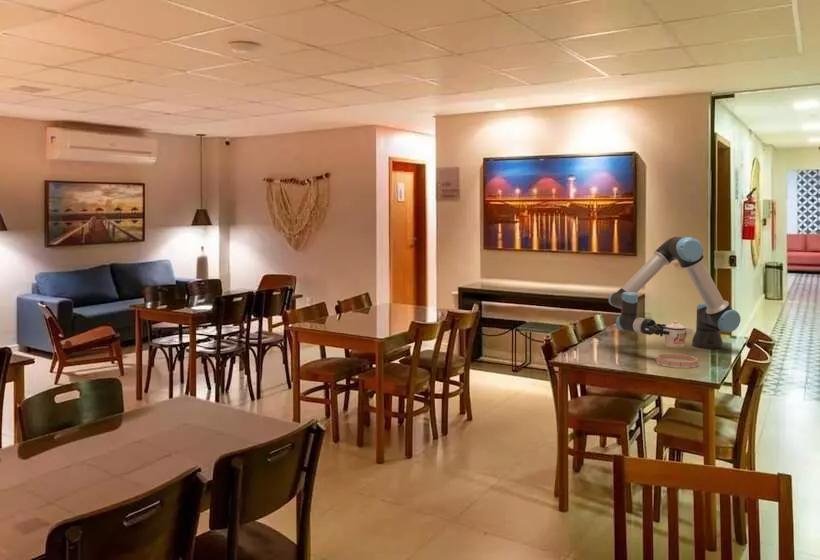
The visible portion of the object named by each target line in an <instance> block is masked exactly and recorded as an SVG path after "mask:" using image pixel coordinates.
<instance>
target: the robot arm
mask: <svg viewBox="0 0 820 560" xmlns="http://www.w3.org/2000/svg"><path fill="white" fill-rule="evenodd" d="M703 252H704V248H703V244H702V243H701V242H700V240H698V239H697V238H693V237H691V236H685V237H683V236H673V237H670V238H668V239H667V240H665V241H664V242H663V243H661V245H659V246H658V248H657V249H655V251H653V255H652V256H651V257H650V259H649V260H648V261H647V262H645V263H644V264H643V266H641V268H639V270H637V272H635V274H633V276H631V277H630V278H629V280H628V281H626V283H624V284H623V286H621V287H620V288H619V289H618V290H617V291H616V292H611V293H610V295H609V296H608V304H609V305H610V306H612V307H614V308H616V309H620V310H621V311H620V312H621V313H620V315H618V316H617V317H616V320H615V326H616V327H617V329H619V330H621V331H625V332H632V333H637V334H638V335H641V334H642V335H643V334H644V335H649V336H651V335H653V334H654V335H656V336H660V337H663V336H665V335H666V336H672V337H677V331H673V330H667V329H665V326H666V325H667V324H664V323H663V324H660V323H656V320H654V319H649V318H644V317H638V305H639V304H638V303H639V298H638V292H639V291H640V290H642V288H644V287H645V286H646V285H647V284H648V282H650V280H651V279H653V277H655V276H656V274H658V272H661V271H660V270H662V269H663V268H664V267H665V266H668V265H670V264H671V263H672V262H673V261H677V262H678V265H680V267H681V268H682V269H685V270H686V272H687V274H688V275H689V277H690V279H691V281H692V283H693V284H694V286H695V288H696V290H697V292H698V293H699V295H700V297H701V299H702V301H703V303H698V304H697V306H696V323H695V325H696V326H695V333H694V328H690V327H686V329H685V330H686V331H687V335H691V336H693V335H694V336H693V338H692V340H691V346H693V347H695V348H701V349H702V348H703V349H712V350H715V349H722V348H723V347H724V341H723V339H722V335H721V332H722V333H732V332H734V331H736V330H737V329H738V327H739V326H740V323H741V319H742V318H741V315H740V313H739V312H738V311H737V310H736V309H733V308H732V306H731V305H730V303H729V301H728V300H724V299H723V296H722V295H721V293H720V290H719V289H718V288H717V286H716V284H715V281H714V279H713V278H712V276H711V274H710V272H709V270H708V269H707V267H706V265H705V264H704V258H705V257H704V253H703Z"/></svg>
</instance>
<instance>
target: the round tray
mask: <svg viewBox="0 0 820 560" xmlns="http://www.w3.org/2000/svg"><path fill="white" fill-rule="evenodd" d="M655 361H656V364H658V365H659V366H663V367H668V368H676V369H691V368H692V369H693V368H696V367H698V364H699V358H697V357H695V356H692V355H686V354H682V353H681V354H679V353H662V354H661V353H660V354H657V355H656V357H655Z"/></svg>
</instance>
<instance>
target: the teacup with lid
mask: <svg viewBox="0 0 820 560" xmlns="http://www.w3.org/2000/svg"><path fill="white" fill-rule="evenodd" d="M665 325H666V326H665V329H667V330H673V331H677V337H672V336H666V335H664V345H665V347H669V348H684V347H685V343H686V341H685V340H686V338H687V337H688V334H687V331H686V330H685V329H686V328H687V327H686V326H685V325H682V324H681V323H679V321H678V320H673V322H671V323H670V324H665Z"/></svg>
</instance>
